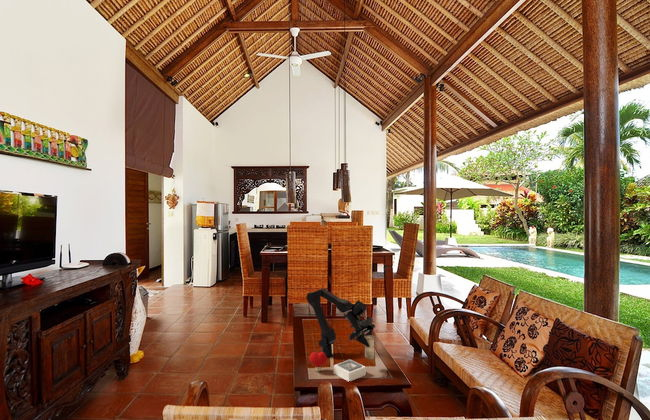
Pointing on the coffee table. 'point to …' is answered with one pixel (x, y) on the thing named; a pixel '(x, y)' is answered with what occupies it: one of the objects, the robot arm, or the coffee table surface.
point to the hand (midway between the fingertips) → (371, 345)
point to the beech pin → (369, 350)
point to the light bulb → (318, 359)
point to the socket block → (349, 370)
